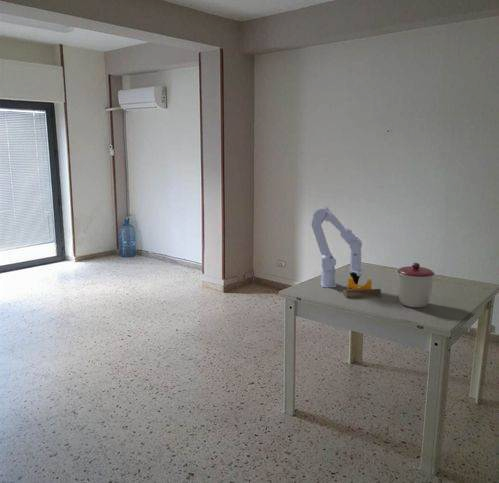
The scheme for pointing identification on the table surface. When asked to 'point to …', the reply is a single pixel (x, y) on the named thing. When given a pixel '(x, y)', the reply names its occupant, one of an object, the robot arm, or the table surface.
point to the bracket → (362, 293)
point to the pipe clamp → (354, 286)
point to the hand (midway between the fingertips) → (355, 285)
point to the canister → (415, 285)
